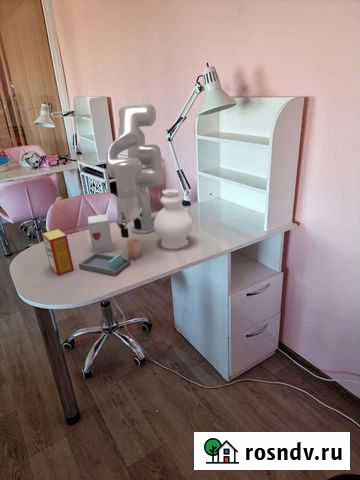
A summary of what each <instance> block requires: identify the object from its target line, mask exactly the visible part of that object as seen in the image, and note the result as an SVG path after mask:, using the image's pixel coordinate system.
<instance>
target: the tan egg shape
mask: <svg viewBox="0 0 360 480" xmlns="http://www.w3.org/2000/svg"><path fill="white" fill-rule="evenodd" d="M126 246H127V254H128V259H130V260H132V261H133V260H139V259H141V258H142V256H143V255H142V249H141V248H142V247H141V241H140V240H139V239H134V238H133V239H129V240H128V241H126Z"/></svg>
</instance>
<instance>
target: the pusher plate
mask: <svg viewBox="0 0 360 480" xmlns="http://www.w3.org/2000/svg"><path fill="white" fill-rule="evenodd" d="M123 256H124V255H123V252H120V253H118V254H116V256H115V257H114V258H113V259H111V260H110V261H109V262H108V265H109V269H112V270H115V269H117V268H118V267H119V266H120V265H122V264H123V263H124V262H123V258H124V257H123Z"/></svg>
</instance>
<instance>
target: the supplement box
mask: <svg viewBox="0 0 360 480" xmlns="http://www.w3.org/2000/svg"><path fill="white" fill-rule="evenodd" d="M109 220H110V219H109V216H108V213H105V214H96V215H91V216H90V215H89V216H87V225H88V231H89V237H90V242H91V247H92V254H94V253H99V254H102V253H106V252H113V251H114V247H113V239H112V232H111V225H110V221H109Z"/></svg>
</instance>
